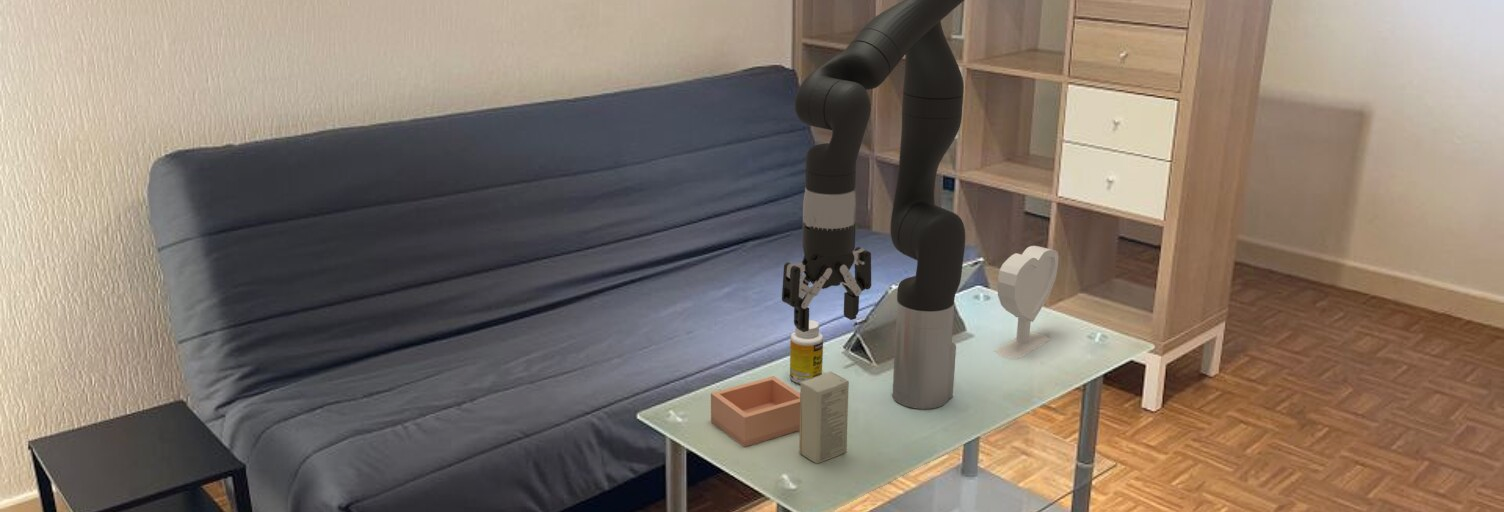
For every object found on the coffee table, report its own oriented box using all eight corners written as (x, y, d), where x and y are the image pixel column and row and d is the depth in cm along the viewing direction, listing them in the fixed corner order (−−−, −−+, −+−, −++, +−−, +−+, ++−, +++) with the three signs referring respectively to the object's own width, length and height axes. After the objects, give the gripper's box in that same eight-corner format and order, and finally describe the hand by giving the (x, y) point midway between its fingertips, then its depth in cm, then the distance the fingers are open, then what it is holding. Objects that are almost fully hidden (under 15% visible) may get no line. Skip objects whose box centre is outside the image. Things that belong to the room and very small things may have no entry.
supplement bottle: (815, 388, 210) (816, 332, 206) (784, 382, 212) (785, 327, 208) (826, 375, 215) (828, 320, 211) (796, 369, 217) (797, 315, 213)
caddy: (773, 403, 204) (773, 376, 202) (808, 427, 196) (809, 399, 195) (710, 421, 198) (710, 393, 196) (744, 447, 190) (744, 417, 188)
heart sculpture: (1012, 362, 220) (1020, 266, 214) (988, 354, 223) (995, 260, 217) (1055, 336, 231) (1063, 245, 225) (1031, 329, 234) (1039, 239, 228)
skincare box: (828, 441, 192) (831, 370, 188) (848, 453, 188) (850, 380, 184) (797, 453, 188) (798, 380, 184) (816, 465, 185) (818, 391, 181)
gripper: (853, 204, 182) (849, 306, 188) (772, 219, 175) (771, 325, 181) (885, 217, 176) (880, 322, 182) (803, 233, 169) (800, 343, 175)
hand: (826, 323), depth 181 cm, fingers open, 8 cm apart
